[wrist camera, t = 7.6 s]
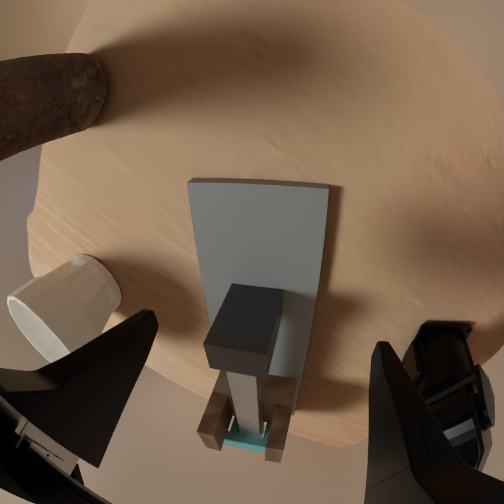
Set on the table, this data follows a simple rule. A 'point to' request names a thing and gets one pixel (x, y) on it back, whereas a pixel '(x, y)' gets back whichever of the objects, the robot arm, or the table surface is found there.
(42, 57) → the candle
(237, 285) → the shaft
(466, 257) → the table surface
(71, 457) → the robot arm
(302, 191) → the base board
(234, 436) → the spacer
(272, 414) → the bearing block
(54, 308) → the cup
